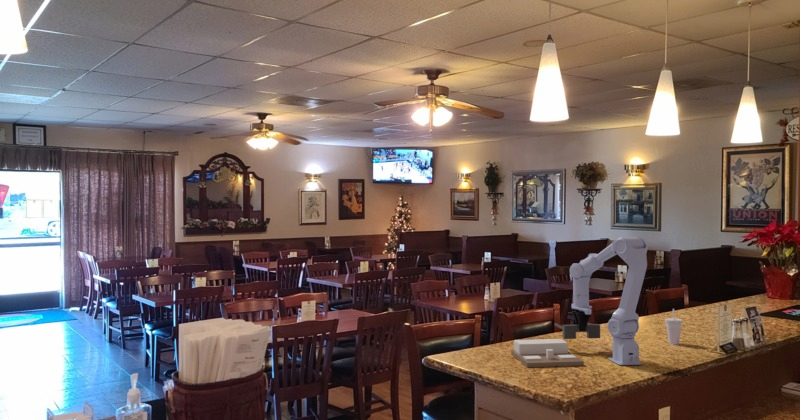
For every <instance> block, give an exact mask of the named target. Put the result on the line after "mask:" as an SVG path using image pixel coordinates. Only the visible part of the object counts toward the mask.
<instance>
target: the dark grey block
mask: <svg viewBox="0 0 800 420" xmlns="http://www.w3.org/2000/svg"><path fill="white" fill-rule="evenodd" d="M554 326H555V327H556V328H558V329H561V330H562V340H563V339H564V340H575V339H577V333H586V338H587V339H601V324H599V323H590V322H588V324H587V328H586V331H580V330H579V325H576V324H562V325H561V324H558V323H556V322H555V323H554Z"/></svg>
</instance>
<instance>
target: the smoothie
mask: <svg viewBox="0 0 800 420" xmlns="http://www.w3.org/2000/svg"><path fill="white" fill-rule="evenodd" d="M664 322H665V326H666V333H667V339H668V340H667V341H668V345H669V344H670V345H672V344H673V346H675V345H676V346H677V345H678V346H679V345H680V339H681V332H682V331H681V330H682V324H683V319H681V318H675V308H672V317H667V318H665V319H664Z"/></svg>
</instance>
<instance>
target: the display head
mask: <svg viewBox="0 0 800 420" xmlns="http://www.w3.org/2000/svg"><path fill="white" fill-rule="evenodd" d="M568 344H569V343H568V342H567V341H565V339H564V340H563V338H548V339H547V338H546V339H543V338H541V339H537V338H536V339H514V340H513V349H510V354H511V355H512V357H514V356H515V357H516V358H515V357H514V358H515V359H517V360H518V361H519V362H520V361H521V362H522V363H523V364H522V363H521V362H520V363H521V364H522V365H523V366H525V367H526V368H550V367H551V368H552V367H553V368H554V367H555V366H558V367H580V366H582V367H584V366H585V361H584V360H582V359H581V358H580V357H577V356H576V355H575V354H573V353H572V352H570V351H569V350H568V349H569V345H568Z"/></svg>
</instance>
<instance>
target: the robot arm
mask: <svg viewBox="0 0 800 420" xmlns="http://www.w3.org/2000/svg"><path fill="white" fill-rule="evenodd" d="M648 248H649V246H648V244H647V243H646V241H645V240H644V239H643V237H640V236H634V237H633V236H632V237H618V238H617V239H615V240H613V241H612V243H610V244H609V245H608V246H606V247H605V248H604V249H602V250H601V251H600V252H599V253H591V252H590V253H589V254H588V255H587V257H586V258H584V259H581V260H580V261H579V262H578V263H577V262H576V263H575V262H574V263H572V264H571V265H570V267H569V275H570V276H571V277H572V285H573V287H572V291H573V292H572V297H573V298H572V299H573V300H572V301H573V303H571V309H572V311H570V312H571V314H572V317H573V319H574V322H575V325H579V330H580V331H586V328H587V324H588V323H589V321H590V319H591V317H592V308H593V306H592V305H590V289H589V288H590V285H589V283H590V281H591V277H592V275H593V273H594V272H596V271H598V270H599V269H601V268H602V267H603V266H604V263H605V262H606V261H608V260H609V259H612V258H613V257H615V256H619V257H620V258H621V260H623V261H624V263H626V264H627V266H628V270H627V273H626V278H625V282H624V286H623V290H622V293H621V298H620V301H619V305H618V308H617V309H616V310H615V311H614V312H613V313H612V316H611V318H610V319H609V320H608V322H607V330H608V332H609V333H610V335H611V337H612V357H611V356H610V357H608V358H607V360H609V361H611V362H613V363H615V364H617V365H619V366H635V365H637V366H638V365H639V366H640V365H642V362H640V347H639V344H638V342H637V341H636V340H635V337H636V333H638V332H639V329H640V324H639V319H640V316H639V314H638V313H636V311H637V305H638V303H639V298H640V295H641V291H642V288H643V287H642V286H643V283H644V280H645V276H646V272H647V268H648V260H647V259H648V258H647V252H648Z"/></svg>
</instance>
